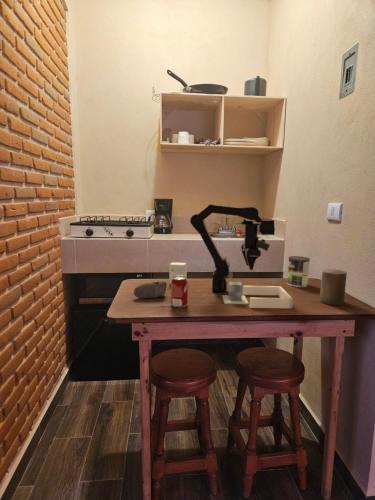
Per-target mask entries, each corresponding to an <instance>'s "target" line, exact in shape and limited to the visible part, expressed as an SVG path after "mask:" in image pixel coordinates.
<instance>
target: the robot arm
mask: <svg viewBox="0 0 375 500" xmlns="http://www.w3.org/2000/svg"><path fill="white" fill-rule="evenodd" d="M212 214H218V215H227V216H228V215H229V216H237V217H240V218H243V221H241V222H240V224H241V225H244V235H243V239H244V240H243V242H244V243H242V244H241V245H240V251H241V254H242V256H243V259H244V262H245V265H246V266H248V268H249V270H250V271H253V269H254V266H255V263H256V260H257V259H258V258H260V257H261V256H262V251H261V250H264V251H265V252H266V251H267V252H268V250H269V248H270V243H267V242H266V240H265V239H263V238H261V239H259V237H258V233H260V235H262V236H264V235H265V236H274V235H275V231H276V229H275V220H274V219H269V220H268V219H267V220H266V219H265V220H263V219H262V217H260V215H259V210H258V209H257V207H254V206H243V207H234V206H225V205H224V206H223V205H216V204H211V203H210V204H209V205H207V207H205V208H204V209H203V210H202V211H200V212H199V213H196V214H193V215H192V216H191V217H190V219H189V221H190V224H191V226H192V227H193V229H195V231H196V232H197V233H198V234H199V235H200V237H201V239H202V241H203V243H204V245H205V246H206V249H207V250H208V252H209V254H210V257H211V258H212V259H213V264H214V268H215V270H214V271H213V273H212V275H211V292H212V293H227V290H228V289H227V288H228V286H227V285H228V282H227V280H226V277H227V276H228V275H229V274H230V269H231V266H230V265H231V264H230V263H229V261H228V259H227V257H226V256H225V257H224V258H223V256H222V255H221V254H220V252H219V250H218V247H217V246H216V243H215V242H214V240H213V239H212V236H211V234H210V232H209V230H208V228H207V224H206V220H205V219H207V218H209V216H211V215H212ZM254 221H255V222H256V223H255V222H254ZM260 249H261V250H260Z"/></svg>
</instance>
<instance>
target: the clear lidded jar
mask: <svg viewBox="0 0 375 500" xmlns="http://www.w3.org/2000/svg"><path fill="white" fill-rule="evenodd" d="M310 260H311V258H309V257H307V256H306V257H305V256H299V255H293V256H288V264H287V265H288V266H287V278H286V284H287V285H288V286H291V287H294V288H295V287H296V288H306V287H308V283H309V282H308V281H309V270H310Z"/></svg>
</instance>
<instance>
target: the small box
mask: <svg viewBox="0 0 375 500" xmlns="http://www.w3.org/2000/svg"><path fill="white" fill-rule="evenodd" d="M168 265H169V270H168V272H169V275H168V277H169V285H171V281H172V280H173V277H174V276H185V277H186V280H187V275H188V274H187V269H188V268H187V265H188V264H187V262H176V261H175V262H171V263H169V264H168ZM187 281H188V280H187Z"/></svg>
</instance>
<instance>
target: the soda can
mask: <svg viewBox="0 0 375 500" xmlns="http://www.w3.org/2000/svg"><path fill="white" fill-rule="evenodd" d="M188 283H189V282H188V280H186V277H185V276H174V277H173V280H172V281H171V284H170V295H171V296H170V304H171V307H174V308H176V307H177V309H178V308H179V309H180V308H181V309H183V308H184V307H186V306H188V298H189V297H188V291H189V289H188V288H189V287H188V286H189V285H188Z"/></svg>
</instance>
